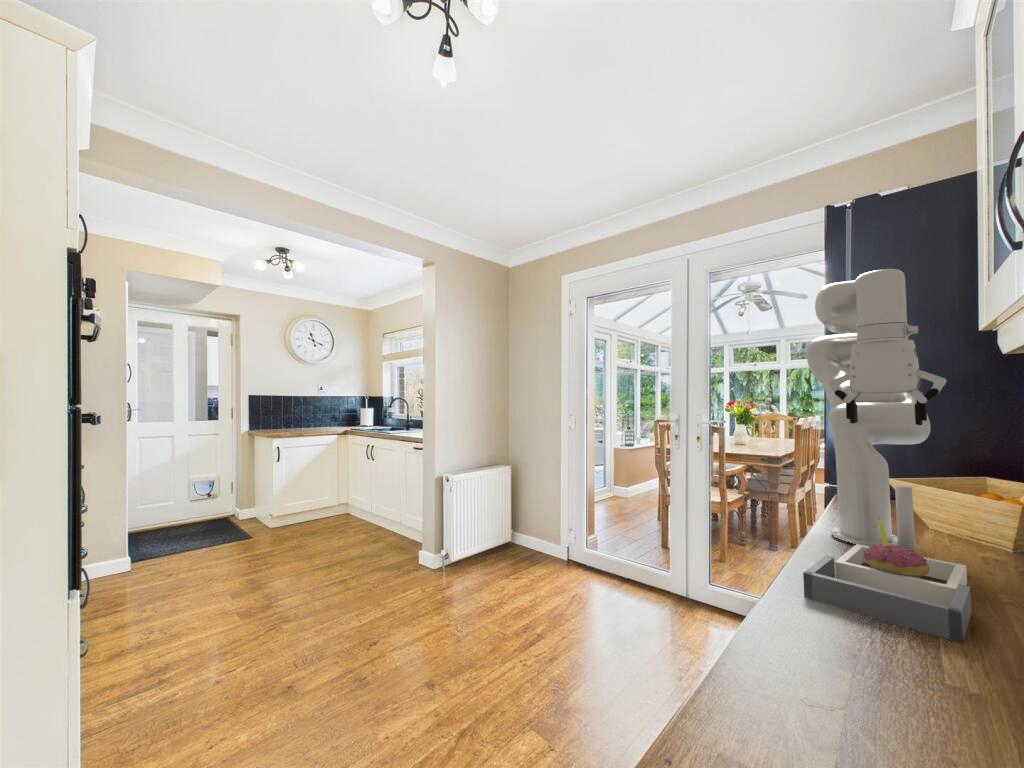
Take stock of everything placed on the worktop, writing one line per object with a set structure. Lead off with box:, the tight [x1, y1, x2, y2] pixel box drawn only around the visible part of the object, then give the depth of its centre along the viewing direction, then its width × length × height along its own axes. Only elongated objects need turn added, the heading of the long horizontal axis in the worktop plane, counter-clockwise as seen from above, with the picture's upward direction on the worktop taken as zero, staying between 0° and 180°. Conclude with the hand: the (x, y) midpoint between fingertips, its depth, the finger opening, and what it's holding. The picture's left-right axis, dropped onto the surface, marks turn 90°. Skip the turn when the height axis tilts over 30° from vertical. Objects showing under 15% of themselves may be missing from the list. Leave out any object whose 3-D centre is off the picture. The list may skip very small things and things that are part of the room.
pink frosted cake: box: [863, 515, 929, 579], centre depth 76 cm, size 9×8×12 cm
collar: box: [835, 485, 968, 607], centre depth 78 cm, size 15×15×16 cm
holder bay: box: [802, 554, 973, 644], centre depth 70 cm, size 12×18×4 cm
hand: (885, 423), depth 85 cm, fingers open, 9 cm apart
